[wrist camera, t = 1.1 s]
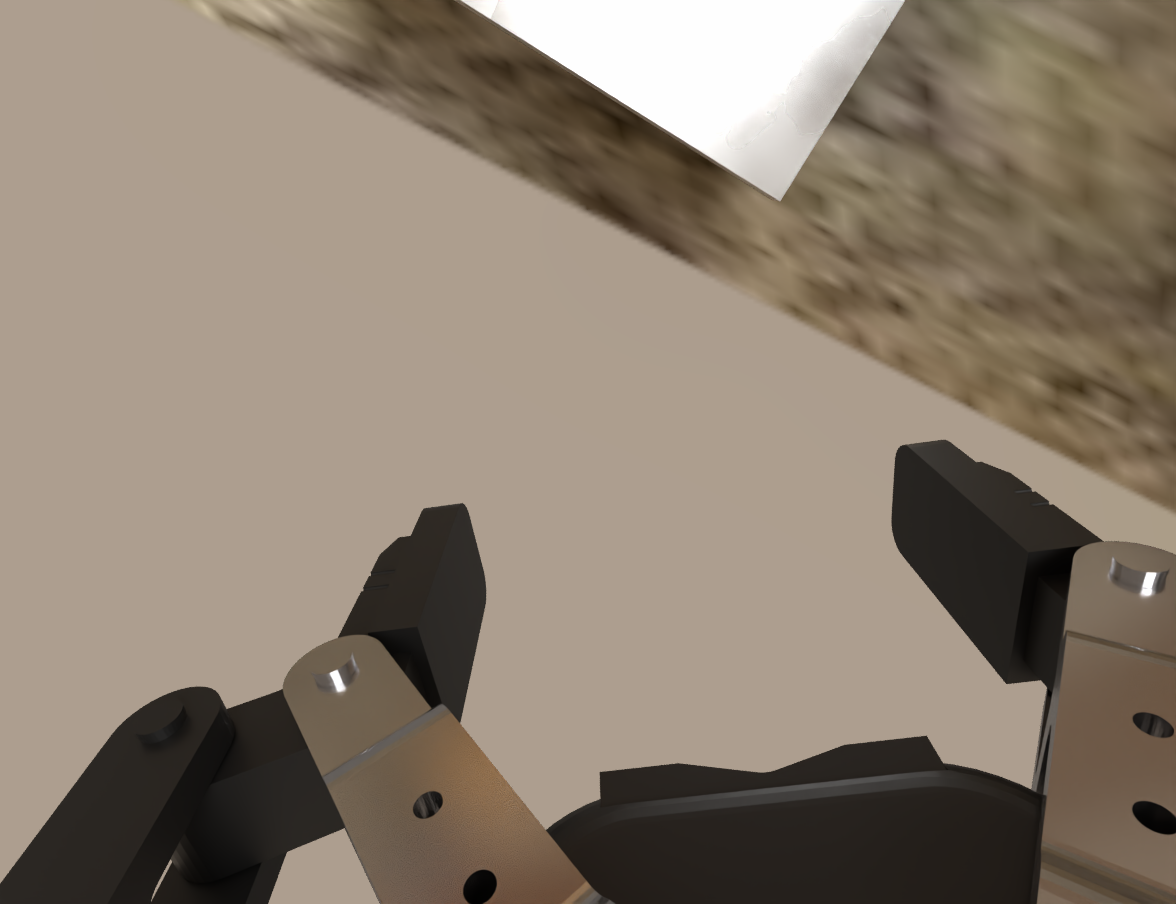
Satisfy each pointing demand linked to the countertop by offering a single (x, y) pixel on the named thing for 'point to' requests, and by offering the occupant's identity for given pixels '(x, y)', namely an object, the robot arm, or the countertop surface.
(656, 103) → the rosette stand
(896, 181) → the countertop surface
